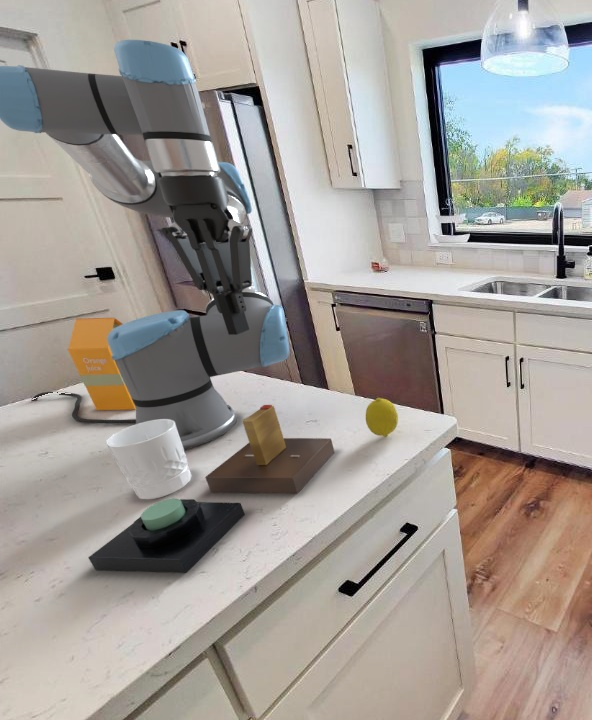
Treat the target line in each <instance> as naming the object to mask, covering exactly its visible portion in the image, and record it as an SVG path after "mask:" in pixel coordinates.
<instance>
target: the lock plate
mask: <svg viewBox="0 0 592 720" xmlns="http://www.w3.org/2000/svg"><path fill="white" fill-rule="evenodd" d="M283 438H284V442H285V445H286V448H285V449H284V450H283V451H282V452H281V453H280V454H278V455H277V456H276V457H275V458H274V459H273V460H272V461H271V462H269V463H268V464H267V465H257V463H256V460H255V457H254V454H253V451H252V448H251V446H250V443H249V442H248V443H246V444H245V445H244V446H243V447H241V448H240V449H238V451H236V452H235V453H234V454H233V455H232V456H231V455H230V457H229V458H228V459H226V460H225V461H224V462H222V463H221V464H220V465H218V466H217V467H216V468H215V469H213V470H212V471H211V472H210V473H209V474H207V475H205V477H204V478H205V480H206V483H207V486H208V488H209V491H210V493H211V494H262V495H263V494H266V495H267V494H268V495H269V494H271V495H278V494H279V495H298V494H300V492H301V491H302V490H303V489H304V488H305V487H306V486H307V484H309V482H310V481H311V480H312V479H313V478H314V476H315V475H317V473H318V472H319V471H320V470H321V469H322V467H323V466H325V464H326V463H327V462H328V461H329V460H330V458H331V457H332V456H333V455H334V454H335V449H334V444H333V440H332V438H330V437H329V438H327V437H326V438H325V437H324V438H321V437H320V438H318V437H315V438H313V437H312V438H311V437H308V438H307V437H306V438H305V437H304V438H303V437H295V438H294V437H283Z"/></svg>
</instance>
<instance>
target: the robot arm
mask: <svg viewBox="0 0 592 720" xmlns="http://www.w3.org/2000/svg"><path fill="white" fill-rule="evenodd" d="M113 50H114V53H115V58H116V61H117V65H118V72H119V75H114V74H113V75H112V74H104V73H103V74H101V73H90V72H89V73H88V72H80V71H79V72H78V71H67V70H58V69H48V68H39V67H29V66H24V65H19V64H18V65H15V66H14V65H13V66H12V65H0V121H1V122H2V123H3V124H4V125H5V126H7V127H8V128H10V129H12V130H15V131H19V132H29V133H35V134H42V133H45V134H46V135H47V136H48V137H50V139H52V141H54V143H56V144H57V145H58V146H59V147H60V148H61V149H62V150H63V151H64V152H65V153H66V154H67V155H68V156H70V157H71V158H72V159H73V160H74V161H75V162H76V163H77V164H78V165H79V166H80V167H81V168H82V169H83V170H84V171H85V172H86V173H87V174H88V175H89V179H90V181H91V183H92V184H93V186H94V187H95V188H96V189H97V190H98V192H99V193H100V194H102V195H103V196H104V197H105V198H107V199H108V200H110V201H112V202H113V203H115V204H117V205H119V206H122V207H124V208H127V209H129V210H132V211H134V212H137V213H141V214H144V215H148V216H153V217H160V218H172V219H173V222H172V223H171V224H170V226H167V227H166V226H165V227H162V228H161V233H162V235H163V236H164V237H165V238H166V239H167V240H168V241H169V243H171V244H172V246H173V248H174V250H175V251H176V253H177V254H178V257H179V259H180V260H181V263H182V264H183V265H184V268H185V269H186V271H187V273H188V275H189V276H190V278H191V280H192V282H193V283H194V285H195V287H196V288H197V289H198V290H199V291H206V292H208V293H210V295H211V300H209V301H208V302H207V304H206V305H205V315H200V316H193V317H190V314H189V313H188V312H187V311H185V310H184V309H183V310H182V309H178V310H169V311H163V312H158V313H154V314H150V315H147V316H143V317H139V318H136V319H133V320H130V321H127V322H125V323H122V325H120V326H118V327H116V328H114V329H113V330H112V331H111V332H110V333H109V334H108V337H107V341H108V344H109V347H110V350H111V353H112V359H113V360H115V363H116V365H117V367H118V369H119V372H120V374H121V376H122V378H123V380H124V383H125V385H126V387H127V389H128V392H129V394H130V396H131V398H132V401H133V403H134V405H135V408H136V409H135V418H132V419H129V418H128V419H101V418H100V419H99V418H84V417H79V415H78V413H79V410H80V409H81V402H82V399H83V397H82V395H81V394H78V393H73V392H70V393H71V394H65V393H68V392H66V391H64V392H65V393H61V394H59V395H58V396H67V397H73V398H76V400H75V402H74V408H73V410H72V412H71V418H72V419H73V420H75V421H77V422H81V423H86V424H87V423H88V424H135V425H136V424H139V423H142V422H146V421H151V420H158V419H170V420H173V421H174V422H175V424H176V427H177V430H178V433H179V436H180V439H181V442H182V445H183V448H184V451H185V450H188V449H191V448H195V447H198V446H202V445H203V444H205V443H208V442H211V441H213V440H215V439H217V438H219V437H221V436H222V435H224V434H226V433H227V432H228V431H229V430H231V429H233V427H234V426H235V425H236V423H237V416H236V413H235V411H234V409H233V408H232V407H231V406H230V405H229V404H227V402H226V400H225V399H224V398H223V397H222V395H221V394H220V393H219V392H218V391H217V390H216V388H215V386H214V385H213V382H212V379H211V378H214V377H217V376H223V375H227V374H231V373H232V374H233V373H238V372H242V371H247V370H251V369H256V368H260V367H261V368H262V367H264V368H266V367H269V366H270V365H274V364H278V363H279V364H280V363H282V362H285V361H287V359H288V358H289V356H290V342H289V335H288V329H287V321H286V315H285V311H284V308H283V306H282V305H279V304H274V302H273V300H272V299H271V298H270V297H269V296H268V295H265V294H264V293H262V290H261V286H260V282H259V278H258V275H257V273H256V269H255V266H254V262H253V259H252V255H251V245H250V240H251V237H252V233H253V227H252V226H251V225H250V224H244V223H245V222H246V219H247V215H249V214H251V213H252V211H253V208H252V203H251V200H250V197H249V193H248V191H247V189H246V187H245V182H244V181H243V178H242V176H241V174H240V171H238V169H237V168H236V167H235V165H233V163H230V162H225V161H219V160H218V157H217V154H216V151H215V147H214V143H213V140H212V136H211V134H210V130H209V127H208V123H207V118H206V113H205V110H204V107H203V103H202V101H201V97H200V94H199V93H200V92H199V90H198V87H197V81H196V76H195V75H194V73H193V70H192V68H191V64H190V61H189V59H188V56H187V55H186V54H185V53H184V52H183V51H182V50H180V49H179V48H177V47H175V46H172V45H169V44H166V43H162V42H158V41H151V40H143V39H123V40H119V41H117V42H116V43H115V44H114V47H113ZM120 136H141V137H142V138H143V140H144V143H145V147H146V150H147V153H148V156H149V159H150V160H140V159H138V158H136V157H134V155H133V154H132V153H131V150H130V149H129V148H128V147H127V146H126V144H125V143H124V142H123V140H122V139H121V137H120ZM53 392H54V391H44V392H40V393H37V394H35V395H34V396H33V397H32V398H31V400H30V402H36V401H38V399H39V398H40V397H39V396H41V397H43V396H42V395H45V394H48V393H53ZM56 392H57V393H58V392H59V391H56ZM36 397H39V398H36ZM33 398H36V399H34V400H32V399H33Z"/></svg>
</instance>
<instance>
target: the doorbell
mask: <svg viewBox="0 0 592 720" xmlns="http://www.w3.org/2000/svg"><path fill="white" fill-rule="evenodd" d="M179 500H181V502H182V504H183V507H184V509H185V511H186V512H185V515H184V516H183V517H182V518H181V519H179V520H178V521H177V522H175V523H173V524H171V525H169V526H167V527H164V528H160V529H157V530H148V529H146V527H145V525H144V523H143V521H142V519H141V516H140V517H138V518H137V519H135V520H134V521H133V523H131V524H130V525H129V526H127V527H126V528H125V529H124V530H122V531H121V532H119V533H118V534H117V535H116V536H115V537H113V538H112V539H110V540H109V541H108V542H106V543H105V544H104V545H103V546H101V547H100V548H99V549H97V550H96V551H95V552H92V554H90V555H89V556H88V560H89V561H90V563H91V565H92V567H93V569H94V570H95V571H97V572H98V571H101V572H102V571H103V572H133V573H134V572H135V573H137V572H138V573H167V574H168V573H169V574H171V573H172V574H187V573H188V572H190V571H191V569H192V568H193V567H194V566H195V565H196V564H198V563H199V561H200V560H201V559H203V557H204V556H205V555H206V554H208V552H209V551H210V550H211V549H212V548H213V547H215V545H216V544H218V543H219V541H220V540H221V539H223V538H224V536H225V535H227V533H228V532H230V531H231V530H232V528H233V527H235V526H236V525H237V523H238V522H239V521H240V520H242V518H243V517H245V515H246V513H245V511H244V508H243V505H242V503H241V502H219V501H218V502H217V501H216V502H215V501H211V502H210V501H209V502H208V501H196V499H193V498H192V499H189V498H180V499H179Z"/></svg>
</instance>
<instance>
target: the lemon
mask: <svg viewBox="0 0 592 720" xmlns="http://www.w3.org/2000/svg"><path fill="white" fill-rule="evenodd" d="M398 422H399V415H398V412H397V410H396V406H395V405H394V403H392V402H391V401H390V400H388V399H386V398H381V397H376V399H374V400H372V401H371V402H370V403H369V404H368V406H367V407H366V410H365V423H366V426H367V428H368V430H369V431H370V432H371V433H373V434H374V435H376V436H380V437H384V438H386V437H388V436H389V435H390V434H391V433H393V432H394V431H395V429H396V428H397V426H398Z"/></svg>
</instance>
